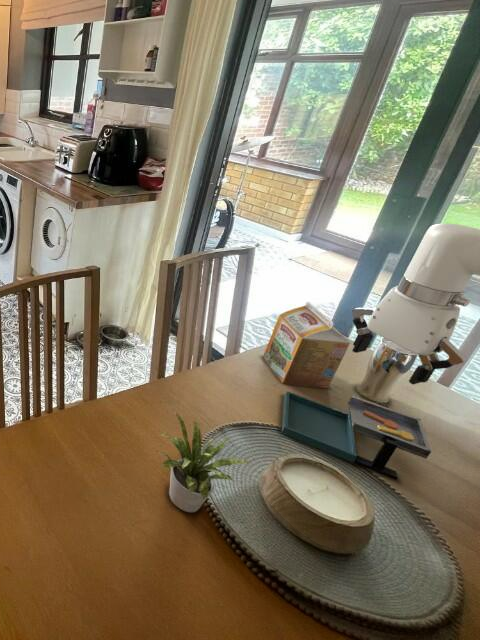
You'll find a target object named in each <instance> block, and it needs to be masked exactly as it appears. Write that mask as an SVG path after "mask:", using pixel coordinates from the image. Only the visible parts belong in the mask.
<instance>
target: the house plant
mask: <svg viewBox="0 0 480 640" xmlns="http://www.w3.org/2000/svg"><path fill="white" fill-rule="evenodd" d="M171 409H172V411H173V413H174V415H175V416H176V418H177V420H178V421H179V424H180V427H181V432H182V436H183V439H182V438H180V437H172V436H171V435H169V434H167V433H164V432H161V433H156V434H157V435H159V436H162V437H165V438H167V439H170V440H171V442H172V444H173V445H174V446H175V448H176V449H177V450H178V452H179V454H180V457H181V459H178V460H175V459H172V458H171V457H170V456H169V455H168V454H167V453H165V452H162V451H159V450H157V451H156V450H155V452H156V453H158V454H160V455H162V456H164V457H166V458H167V459H165V461H163V463H162V464H161V465H160V467H159V468H162V467H163V468H170V479H169V490H168V494H169V498H170V500H171V502H172V503H173V504H174V505H175V507H177V508H178V509H180V510H181V511H184V512H186V513H196V512H198V511H199V510H200V508H201V507H202V506H203V505H204V503H205V502H206V501H207V499H208V498H209V497H210V495H212V493H213V491H214V490H215V481H214V480H215V479H216V480H228V481H231V482H235V481H234V479H233V477H232V476H231V475H229V474H226V473H224V472H223V471H222V470H220V469H218V468H219V467H226V466H232V465H235V464H251V462H250V461H248V460H245V459H242V458H237V457H231V458H230V457H229V458H220V459H217V460H215V461H214V462H211V463H209V462H210V461H212V459H213V458H214V457H215V456H216V455H218V454H219V453H220V452H221V451H222V450H223V448H224V447H225V444H226V443H227V440H228V438H225V439H224V440H223V441H222V442H221V443H219V444H218V445H217V446H215V445H212V444H211V445H208V444H209V443H210V442H212V441H214V440H215V439H216V437H213V438H211V439H209V440H208V441H207V442H206V443H205V444H204V446H203V447H202V444H203V438H202V432H201V428H200V427H199V424H198V423H197V422H196V421H193V435H192V441H191V444H190V441H189V436H188V431H187V428H186V425H185V422H184V420H183V419H182V417H181V416H180V415H179V413H177V411H176V410H175V409H173V408H171ZM203 450H204V451H203ZM202 451H203V453H202ZM208 463H209V464H208ZM211 473H214V474H211Z"/></svg>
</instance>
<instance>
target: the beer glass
mask: <svg viewBox="0 0 480 640" xmlns="http://www.w3.org/2000/svg"><path fill="white" fill-rule="evenodd" d="M417 357H419V355H418V354H416V353H413V352H411V351H409V350H407V349H405V348H403V347H401V346H399V345H397V344H395V343H393V342H391V341H389V340H387V339H385V338H383V337H381V338H380V340H379V342H378V343H377V344H376V346H375V348H374V349H373V351H372V353H371V355H370V357H369V360H368V364H367V367H366V372H365V375H364V377H363V379H362V380H361V381H360V383H358V384H357V386H356V391H357V392H358V394H359V395H361V396H362V397H364V398H366V399H368V400H369V401H371V402H374V403H378V402H379V403H382V404H386V403H388V402H390V398H391V394H392V391H393V390H394V389H395V387H396V386H397V385H398V384H400V383H401V381H402V380H403V379H404V378H405V377H406V376H407V375H408V374H409V373H410V371H411V370H412V369H413V366H414V365H415V363H416V360H417Z"/></svg>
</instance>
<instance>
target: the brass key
mask: <svg viewBox="0 0 480 640" xmlns="http://www.w3.org/2000/svg"><path fill="white" fill-rule="evenodd" d="M377 427H378V429H379V430H381V431H384V432H388V433H391V434H395V435H398V436H401V437H402V438H404V439H406V440H410V441H412V440H413V439H414V437H413V435H411V434H410V433H408V432H406V431H402V430H401V431H397V430H394V429H390V428H387V427H383V426H380V425H378V426H377Z"/></svg>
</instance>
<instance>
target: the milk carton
mask: <svg viewBox="0 0 480 640" xmlns="http://www.w3.org/2000/svg"><path fill="white" fill-rule="evenodd" d="M334 326H335V323H334V321H332V320H331V319H330V318H329V317H327V315H325V314H324V313H323V312H322V311H321V310H319V309H318V308H317V307H316V306H315V305H314V304H312V303H311V302H310V301H306V303H305V305H303V306H299V307H296V308H295V307H294V308H292V309H289V310H286V311H284V312H283V313H281V314H279V315H278V318H277V320H276V323H275V325H274V327H273V330H272V333H271V335H270V338H269V340H268V343H267V345H266V347H265V350H264V353H263V356H262V358H263V360H264V361H265V363H267V365H268V366H269V367H270V369H271V370H272V371H273V372H274V374H275V375H276V376H277V378H278V379H279V380H280V381H281V383H282V384H288V385H296V386H305V387H315V388H325V389H328V388H329V386H330V385H331V383H332V381H333V379H334V378H335V375H336V373H337V371H338V369H339V366H340V365H341V363H342V360H343V358H344V357H345V355H346V353H347V350H348V348H349V347H350V345H351V342H350V341H349V340H348V338H347V337H346V336H345V335H344V334H342V333H341V332H340V331H339V330H338V329H336V328H335V327H334Z"/></svg>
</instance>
